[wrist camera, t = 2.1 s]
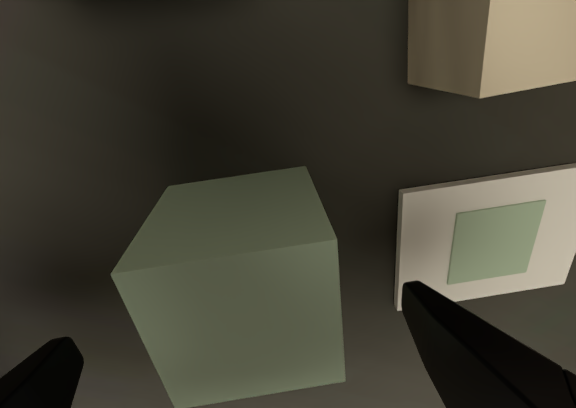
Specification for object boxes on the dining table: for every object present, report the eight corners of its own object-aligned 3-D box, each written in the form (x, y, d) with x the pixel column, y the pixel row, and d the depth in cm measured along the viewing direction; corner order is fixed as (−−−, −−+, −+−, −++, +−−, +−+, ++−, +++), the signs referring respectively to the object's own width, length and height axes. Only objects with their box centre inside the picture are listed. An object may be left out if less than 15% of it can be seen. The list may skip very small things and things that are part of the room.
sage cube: (202, 290, 13) (175, 409, 9) (168, 185, 11) (110, 274, 7) (316, 272, 14) (345, 381, 9) (305, 165, 11) (336, 239, 7)
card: (393, 304, 15) (398, 312, 14) (398, 189, 12) (404, 194, 12) (556, 278, 15) (565, 285, 14) (597, 159, 12) (610, 163, 12)
